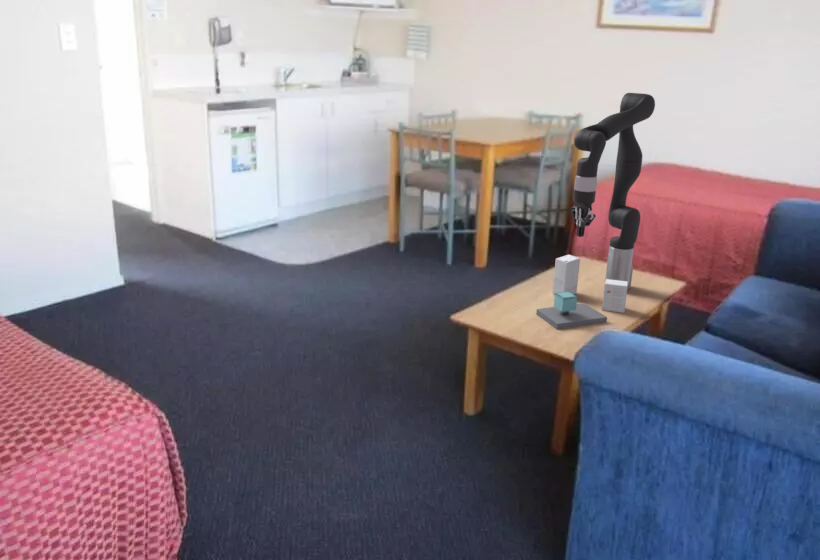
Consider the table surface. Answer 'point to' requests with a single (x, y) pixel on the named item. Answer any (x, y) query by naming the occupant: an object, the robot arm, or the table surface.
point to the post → (564, 312)
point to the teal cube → (565, 301)
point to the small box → (615, 295)
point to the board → (571, 316)
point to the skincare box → (566, 274)
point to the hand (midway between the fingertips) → (579, 236)
